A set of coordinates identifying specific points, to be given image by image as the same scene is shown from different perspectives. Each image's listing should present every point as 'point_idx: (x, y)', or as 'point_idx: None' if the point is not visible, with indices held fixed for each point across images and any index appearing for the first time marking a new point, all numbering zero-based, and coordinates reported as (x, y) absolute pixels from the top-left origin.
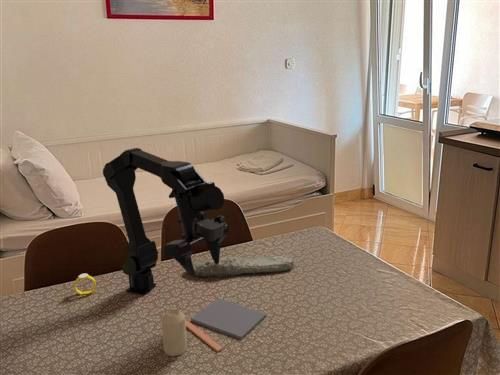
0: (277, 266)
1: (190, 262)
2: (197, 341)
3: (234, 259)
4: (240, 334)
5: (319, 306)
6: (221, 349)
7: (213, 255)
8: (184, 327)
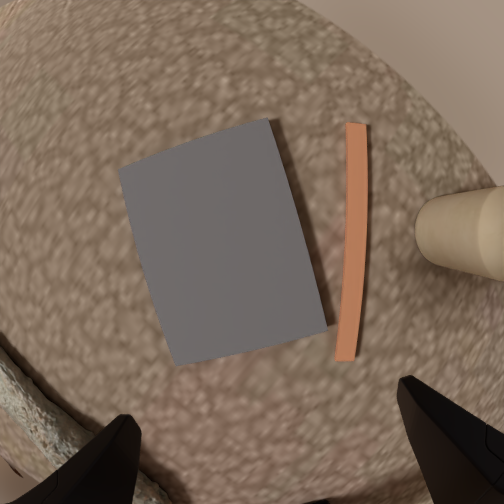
0: None
1: (488, 451)
2: (380, 214)
3: (45, 445)
4: (261, 129)
5: (18, 130)
6: (351, 123)
7: (122, 479)
8: (473, 192)
